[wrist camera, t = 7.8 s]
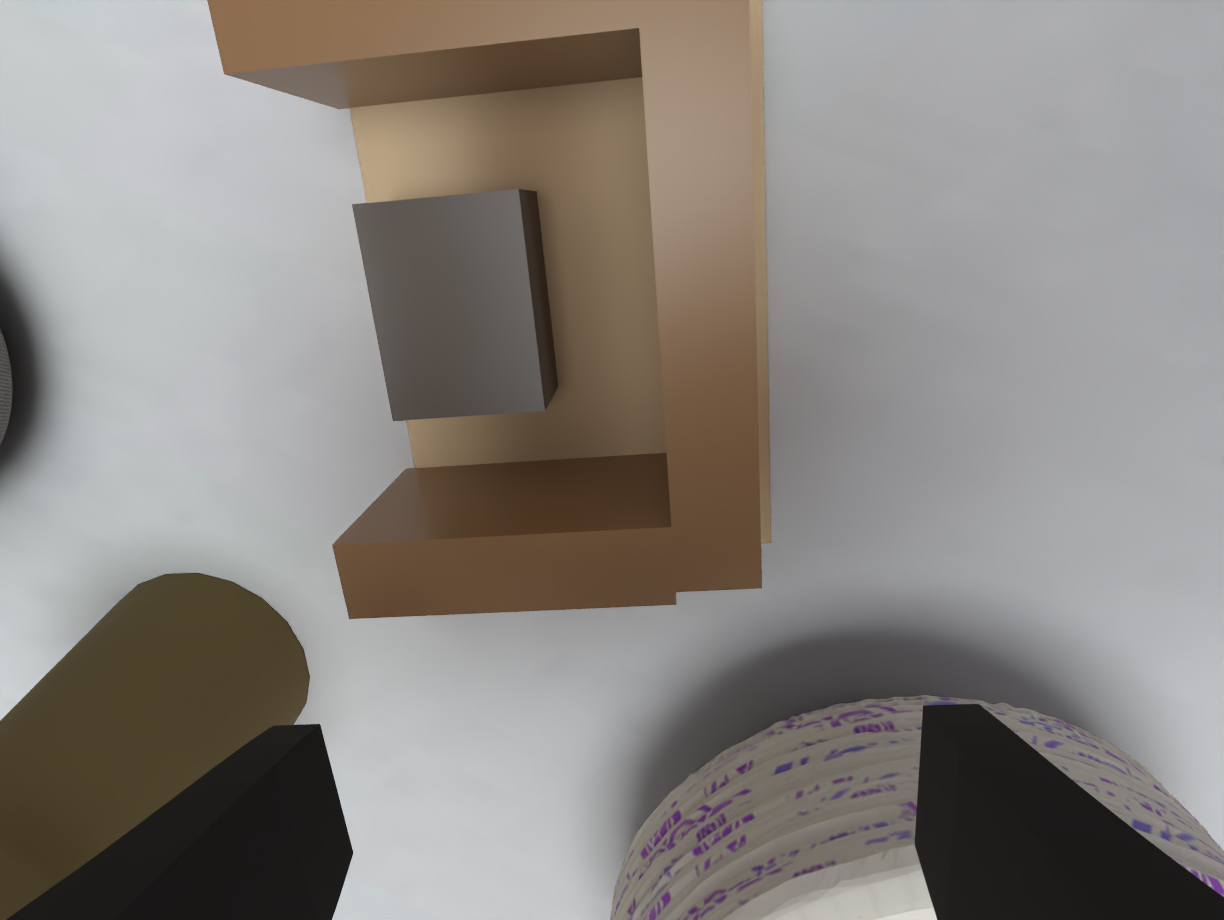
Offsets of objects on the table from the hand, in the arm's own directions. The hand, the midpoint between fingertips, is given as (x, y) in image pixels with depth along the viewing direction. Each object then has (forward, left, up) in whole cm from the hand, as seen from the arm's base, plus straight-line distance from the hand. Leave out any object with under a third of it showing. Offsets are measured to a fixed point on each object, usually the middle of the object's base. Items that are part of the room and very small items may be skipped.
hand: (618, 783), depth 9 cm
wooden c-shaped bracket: (+2, -5, -8) cm, 10 cm away
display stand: (+1, -5, -10) cm, 12 cm away
